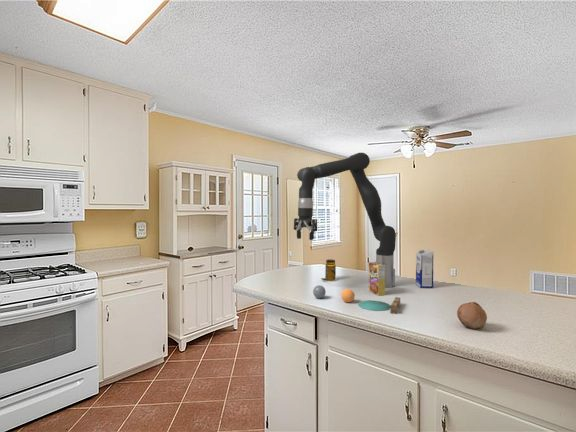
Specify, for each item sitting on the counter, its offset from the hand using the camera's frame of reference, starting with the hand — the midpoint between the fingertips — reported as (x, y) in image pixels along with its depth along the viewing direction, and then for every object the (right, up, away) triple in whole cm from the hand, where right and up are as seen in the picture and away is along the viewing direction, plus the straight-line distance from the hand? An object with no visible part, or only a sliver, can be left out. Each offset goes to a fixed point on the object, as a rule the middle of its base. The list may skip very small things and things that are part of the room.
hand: (304, 239), depth 162 cm
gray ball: (+6, -25, -9) cm, 27 cm away
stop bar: (+38, -28, -25) cm, 53 cm away
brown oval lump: (+58, -29, -46) cm, 79 cm away
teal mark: (+30, -28, -21) cm, 46 cm away
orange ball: (+19, -25, -15) cm, 35 cm away
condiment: (+16, -27, +28) cm, 42 cm away
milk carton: (+66, -27, +13) cm, 72 cm away
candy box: (+36, -27, -1) cm, 45 cm away
